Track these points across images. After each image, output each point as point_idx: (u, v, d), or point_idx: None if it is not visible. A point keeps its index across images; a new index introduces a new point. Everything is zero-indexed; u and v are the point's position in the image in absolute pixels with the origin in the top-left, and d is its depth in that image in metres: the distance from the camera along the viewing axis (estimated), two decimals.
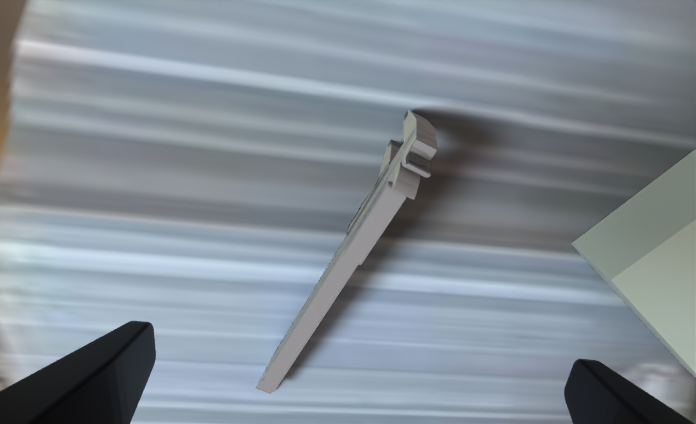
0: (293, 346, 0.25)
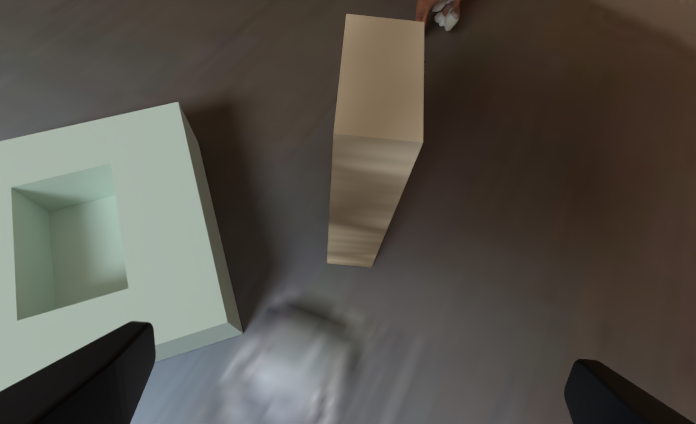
0: None
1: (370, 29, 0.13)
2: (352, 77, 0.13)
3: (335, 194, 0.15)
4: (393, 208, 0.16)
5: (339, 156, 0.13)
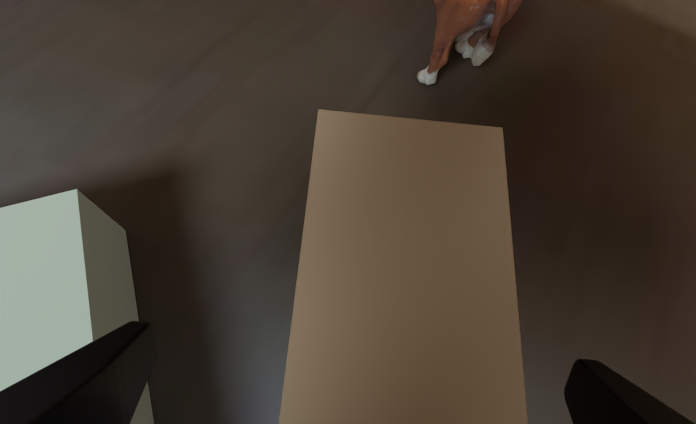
0: None
1: (376, 150, 0.05)
2: (328, 298, 0.05)
3: None
4: None
5: None
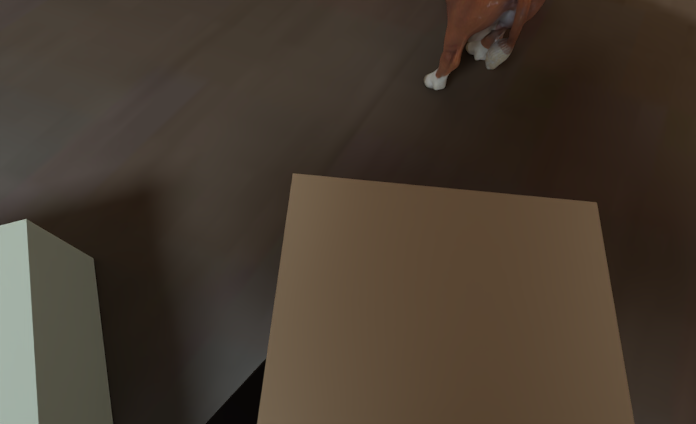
0: None
1: (389, 247, 0.03)
2: None
3: None
4: None
5: None
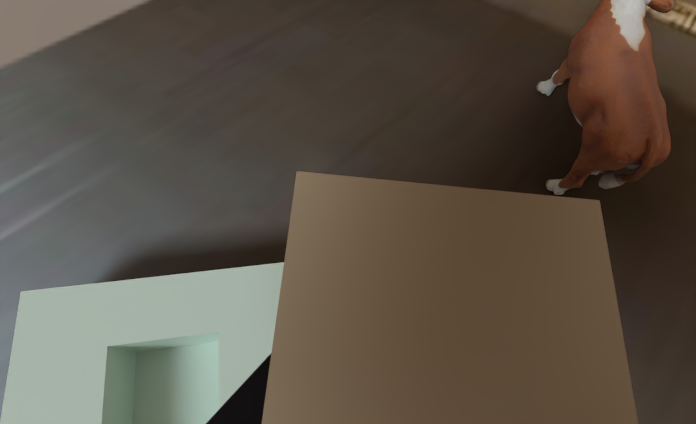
0: None
1: (393, 244, 0.03)
2: None
3: None
4: None
5: None
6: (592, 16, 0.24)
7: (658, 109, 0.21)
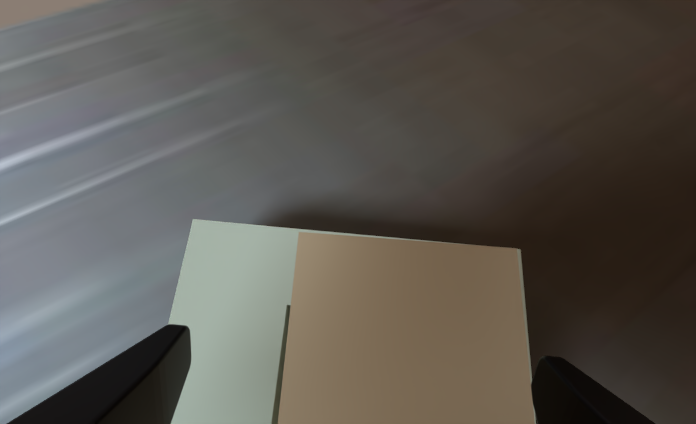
0: None
1: (368, 284, 0.05)
2: None
3: None
4: None
5: None
6: None
7: None
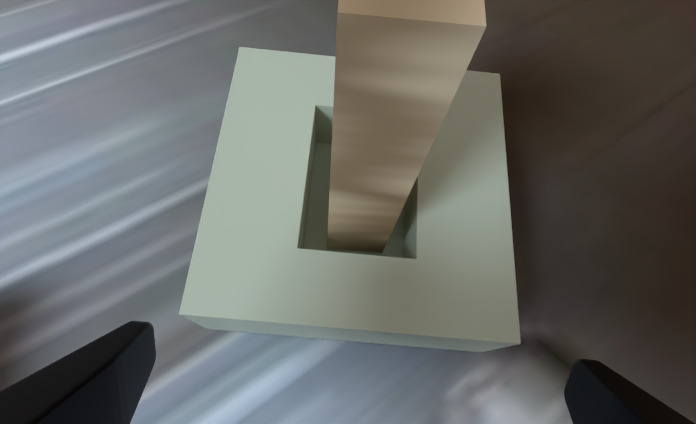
0: None
1: None
2: None
3: (339, 140, 0.11)
4: (420, 162, 0.11)
5: (345, 64, 0.08)
6: None
7: None
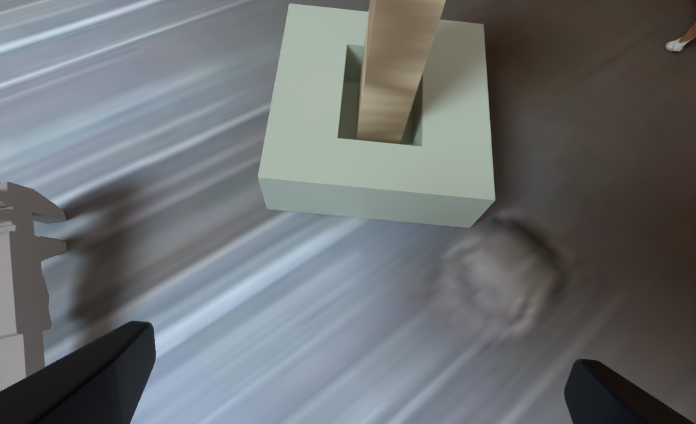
0: None
1: None
2: None
3: (376, 36, 0.17)
4: (426, 55, 0.18)
5: None
6: None
7: None
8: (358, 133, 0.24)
